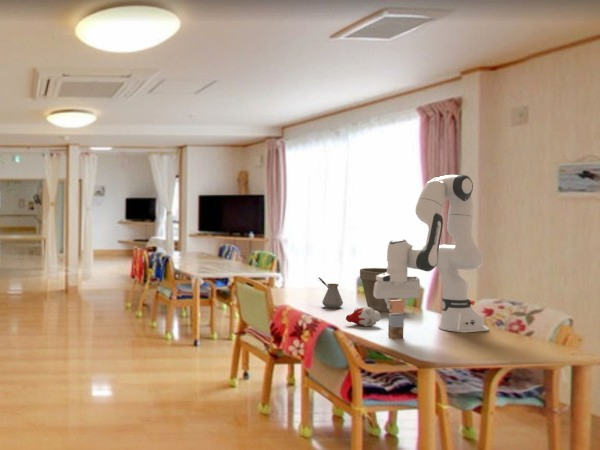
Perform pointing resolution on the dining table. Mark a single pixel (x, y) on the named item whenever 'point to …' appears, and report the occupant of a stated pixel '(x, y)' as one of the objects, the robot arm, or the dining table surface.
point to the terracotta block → (396, 306)
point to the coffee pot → (332, 296)
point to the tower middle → (396, 320)
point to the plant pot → (368, 284)
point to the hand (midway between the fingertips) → (396, 308)
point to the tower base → (395, 332)
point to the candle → (364, 316)
